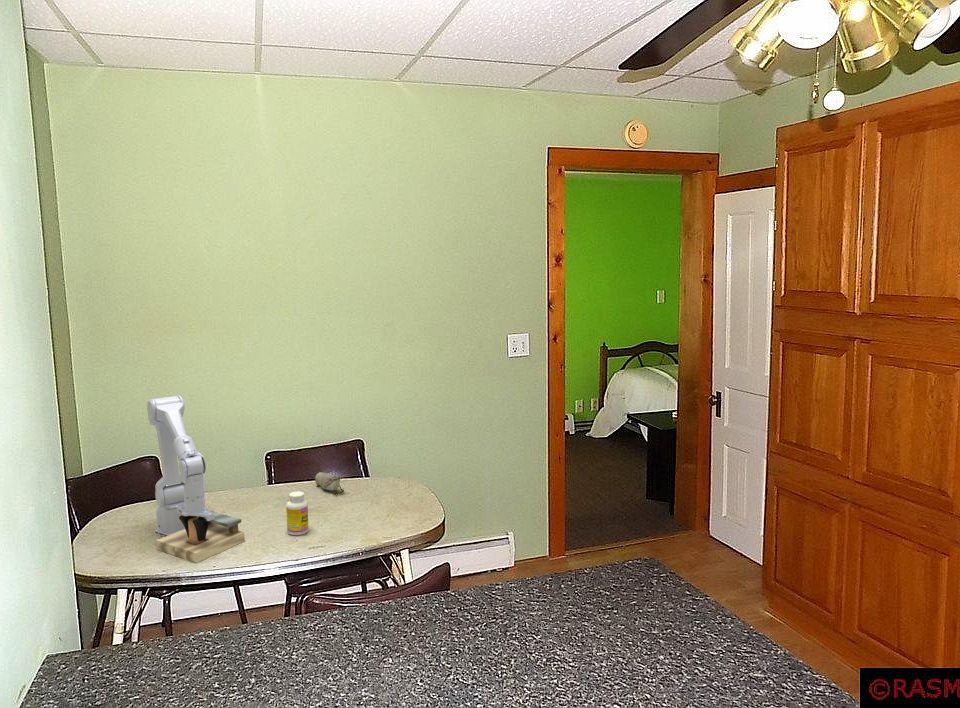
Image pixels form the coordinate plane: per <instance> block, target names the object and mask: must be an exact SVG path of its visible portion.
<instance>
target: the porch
mask: <svg viewBox="0 0 960 708" xmlns="http://www.w3.org/2000/svg"><path fill="white" fill-rule="evenodd" d="M208 510H209V511H210V512H212V513H214V519H213V520H211V522H210V524H209V526H208V529H207V533H206V538H205V540H204V542H203V543H201V544H198V545H196V546H195V545H192V544H190V542H189V538H188V535H187V532H186V530H185V529H184V530H181V531H178V532H176V533H173V534H171V535H168V536H167V535H165V536H163V537H160V538H159V539H156V549H157V551H161V552H163V553H167V554H169V555H172V556H175V557H179V558H180V557H181V559H185V560H186V561H189V562H192V563H194V564H197V563H200V562H202V561H204V560H206V559H209V558H210V557H212V556H213V557H214V556H215V555H217V554H219V553H221V552H223V551H226V550H228V549H230V548H233V547H235V546H237V545H239V544H243V543H244V542H245V531H242V530H239V524H241V523H242V519H241V518H237V517H235V516H231V515H227V514H224V513H220V512H217V511H213V510H210V509H208Z"/></svg>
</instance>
